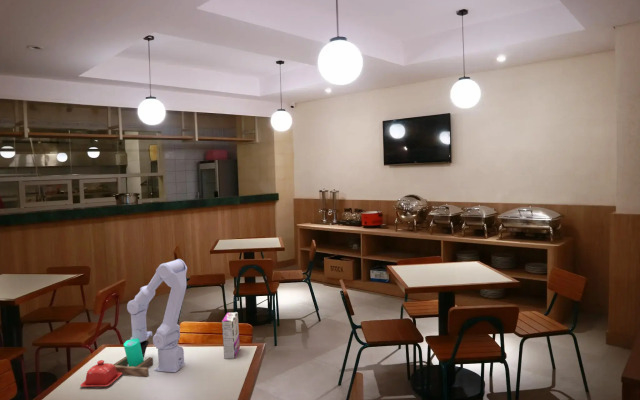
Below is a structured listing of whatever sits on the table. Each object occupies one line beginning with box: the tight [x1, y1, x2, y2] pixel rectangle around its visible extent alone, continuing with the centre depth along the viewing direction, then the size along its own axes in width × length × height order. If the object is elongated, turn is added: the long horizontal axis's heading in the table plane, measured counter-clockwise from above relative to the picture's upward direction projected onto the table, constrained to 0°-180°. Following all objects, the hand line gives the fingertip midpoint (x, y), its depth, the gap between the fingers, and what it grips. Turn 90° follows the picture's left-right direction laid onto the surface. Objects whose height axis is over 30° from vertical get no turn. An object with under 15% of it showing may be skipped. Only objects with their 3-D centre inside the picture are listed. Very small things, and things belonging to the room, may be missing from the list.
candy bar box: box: [221, 311, 241, 360], centre depth 198 cm, size 11×5×16 cm, turn 179°
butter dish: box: [79, 359, 122, 388], centre depth 176 cm, size 12×12×8 cm
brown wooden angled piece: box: [112, 356, 154, 378], centre depth 186 cm, size 20×10×3 cm, turn 77°
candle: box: [123, 338, 145, 367], centre depth 187 cm, size 6×6×12 cm
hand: (141, 359), depth 192 cm, fingers closed
